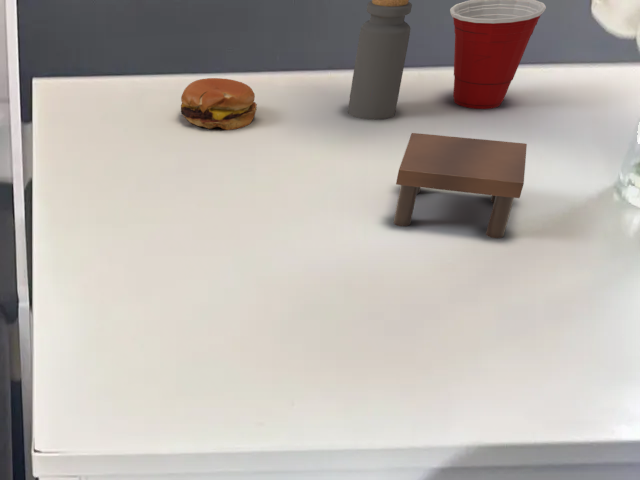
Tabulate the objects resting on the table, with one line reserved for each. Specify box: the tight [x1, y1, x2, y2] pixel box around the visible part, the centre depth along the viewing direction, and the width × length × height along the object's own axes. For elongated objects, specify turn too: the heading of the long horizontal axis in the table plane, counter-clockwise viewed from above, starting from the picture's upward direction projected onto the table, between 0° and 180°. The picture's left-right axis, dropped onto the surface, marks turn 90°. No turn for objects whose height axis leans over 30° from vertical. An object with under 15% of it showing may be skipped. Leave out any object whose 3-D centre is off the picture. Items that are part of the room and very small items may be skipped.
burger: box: [180, 77, 258, 131], centre depth 121 cm, size 10×9×5 cm
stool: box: [393, 132, 528, 239], centre depth 95 cm, size 11×11×6 cm
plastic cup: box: [449, 0, 547, 110], centre depth 120 cm, size 11×11×12 cm
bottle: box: [347, 0, 413, 121], centre depth 117 cm, size 6×6×15 cm
